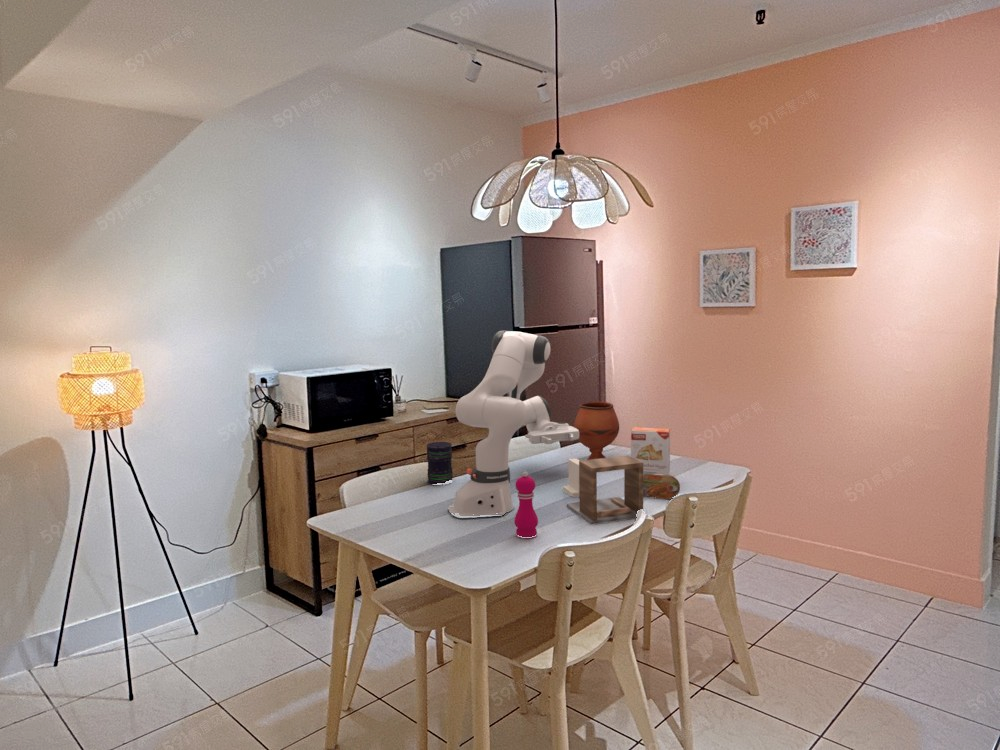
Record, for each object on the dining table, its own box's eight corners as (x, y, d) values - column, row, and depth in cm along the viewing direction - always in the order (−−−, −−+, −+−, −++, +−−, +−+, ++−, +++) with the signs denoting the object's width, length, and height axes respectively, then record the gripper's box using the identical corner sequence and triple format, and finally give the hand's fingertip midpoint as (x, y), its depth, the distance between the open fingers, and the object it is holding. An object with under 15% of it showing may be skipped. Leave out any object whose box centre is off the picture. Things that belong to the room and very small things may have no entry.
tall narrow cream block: (572, 497, 244) (571, 465, 243) (562, 490, 253) (562, 459, 251) (592, 494, 246) (592, 463, 245) (582, 487, 255) (582, 457, 253)
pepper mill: (513, 531, 211) (512, 468, 209) (536, 530, 212) (535, 467, 209) (515, 540, 204) (514, 475, 201) (539, 539, 204) (538, 474, 202)
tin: (636, 495, 244) (636, 473, 242) (638, 493, 246) (638, 470, 245) (678, 501, 237) (678, 477, 235) (680, 498, 239) (681, 475, 238)
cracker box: (630, 484, 258) (630, 429, 255) (632, 479, 263) (632, 426, 261) (668, 486, 253) (669, 431, 251) (670, 482, 259) (670, 428, 256)
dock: (590, 524, 216) (589, 469, 213) (566, 506, 234) (566, 455, 231) (646, 516, 222) (646, 462, 219) (619, 499, 240) (619, 449, 237)
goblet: (575, 468, 282) (575, 408, 279) (572, 456, 301) (572, 400, 298) (622, 467, 281) (622, 407, 278) (616, 455, 300) (616, 399, 297)
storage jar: (429, 478, 272) (428, 442, 270) (454, 478, 271) (453, 441, 269) (426, 486, 262) (424, 448, 260) (451, 485, 262) (450, 447, 260)
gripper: (523, 427, 271) (535, 434, 258) (570, 422, 277) (585, 429, 264) (523, 442, 272) (535, 450, 259) (571, 437, 278) (585, 445, 265)
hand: (561, 440), depth 262 cm, fingers open, 8 cm apart
